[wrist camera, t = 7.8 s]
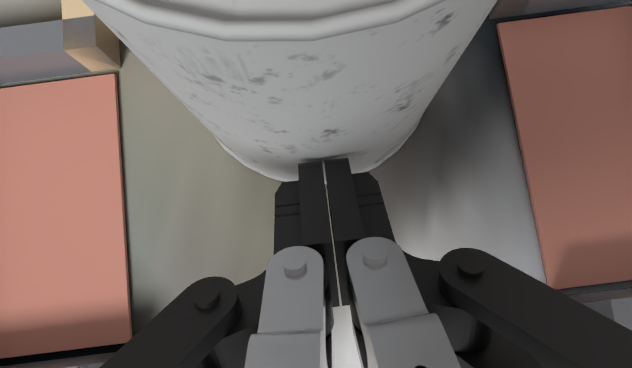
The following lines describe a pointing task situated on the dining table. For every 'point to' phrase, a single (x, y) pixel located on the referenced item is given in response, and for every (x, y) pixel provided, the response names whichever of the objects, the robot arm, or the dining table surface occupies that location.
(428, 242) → the dining table surface
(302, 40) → the grey concrete cylinder
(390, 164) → the dining table surface
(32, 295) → the two-trap box
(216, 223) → the dining table surface
